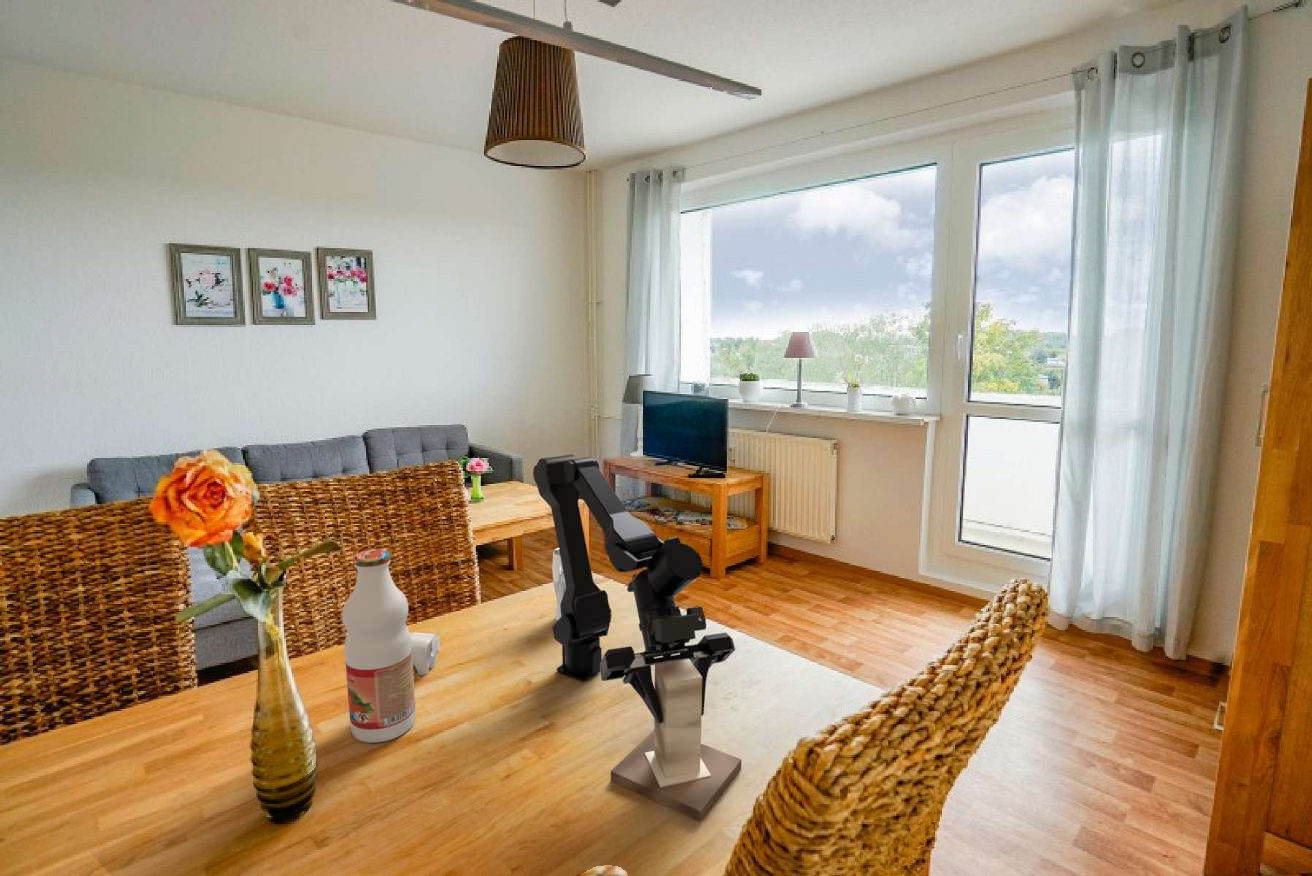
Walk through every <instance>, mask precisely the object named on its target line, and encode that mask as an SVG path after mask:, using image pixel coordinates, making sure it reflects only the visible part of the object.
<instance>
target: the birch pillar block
mask: <svg viewBox="0 0 1312 876" xmlns="http://www.w3.org/2000/svg"><path fill="white" fill-rule="evenodd" d="M654 688H655V692H656V696H657V699H658V703H659V706H660V710H661V716H662V723H661V724H658V723H657V721H656V720H655V719H654V725H653V726H654V729H653V730H654V756H655V758H656V760H657V762H658V764H659V766H660V768H661V770H662V772H663V774H664V776H665V778H671V777H675V776H680V775H685V774H689V773H694V772H699V771H700V758H701V744H702V716H701V710H702V676H701V675H700V673H699V672H698V671H697V669H696V668H695V667H694V665H693V664H692V662H691V661H690V659H685V660H679V661H672V662H666V663H660V664H655V665H654Z"/></svg>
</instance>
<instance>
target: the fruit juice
mask: <svg viewBox="0 0 1312 876" xmlns="http://www.w3.org/2000/svg"><path fill="white" fill-rule="evenodd" d="M353 561H354V562H353V563H354V568H355V569H356V570H357V575H356V581H355V585H354V589H353V591H352V593H351V594H350V595H349V597H348V598H347V600H346V601H345V603H344V605H343V609H342V620H343V621H342V622H343V625H344V626H345V629H346V631H347V636H346V638H345V641H344V664H345V674H346V675H345V676H346V689H347V698H348V699H347V700H348V709H349V710H348V711H349V713H348V714H349V723H350V724H349V725H350V730H351V733H352V735H353V737H354V738H355V739H357V740H358V741H360V742H363V743H369V744H370V743H372V744H374V743H375V744H376V743H383V742H387V741H391V740H393V739H397V738H399V737H401V736H402V735H404V734H405V733H407V732H408V731H409V730H410V729H411V728H412V727H413V725H414V723H415V721H416V715H417V713H416V695H415V680H414V679H415V678H414V671H413V668H414V667H413V660H412V643H411V636H410V633H411V632H410V630H409V629H410V628H408V626H407V619H408V615H409V602H408V600H407V599H408V598H407V597H406V595H405V594H404V593H403V592H402V590H400V589H399V588H398V587H397V585H396V584H395V583H394V581H393V578H392V576H391V573H390V569H389V565H390V563H391V554H390V552H389V550H386V549H381V548H379V549H378V548H377V549H376V548H374V549H367V550H363V551H361V552H358V553H356V554H355V555H354V559H353Z"/></svg>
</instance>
